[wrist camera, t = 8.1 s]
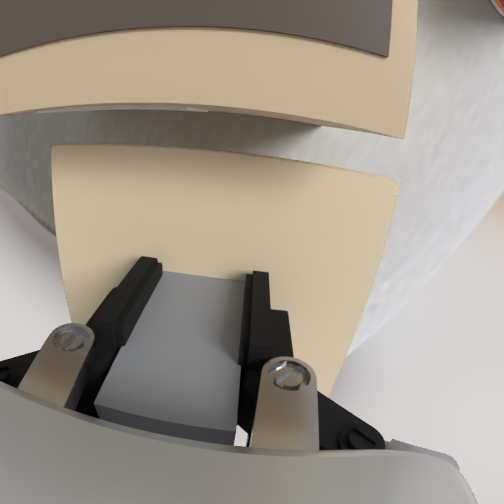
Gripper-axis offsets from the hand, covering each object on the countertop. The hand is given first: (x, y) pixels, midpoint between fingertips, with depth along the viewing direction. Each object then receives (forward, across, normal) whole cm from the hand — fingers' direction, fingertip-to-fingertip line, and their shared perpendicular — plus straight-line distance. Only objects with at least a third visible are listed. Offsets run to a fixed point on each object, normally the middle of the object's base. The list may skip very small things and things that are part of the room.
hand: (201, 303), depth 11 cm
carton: (+7, +2, -14) cm, 16 cm away
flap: (+1, 0, 0) cm, 1 cm away
